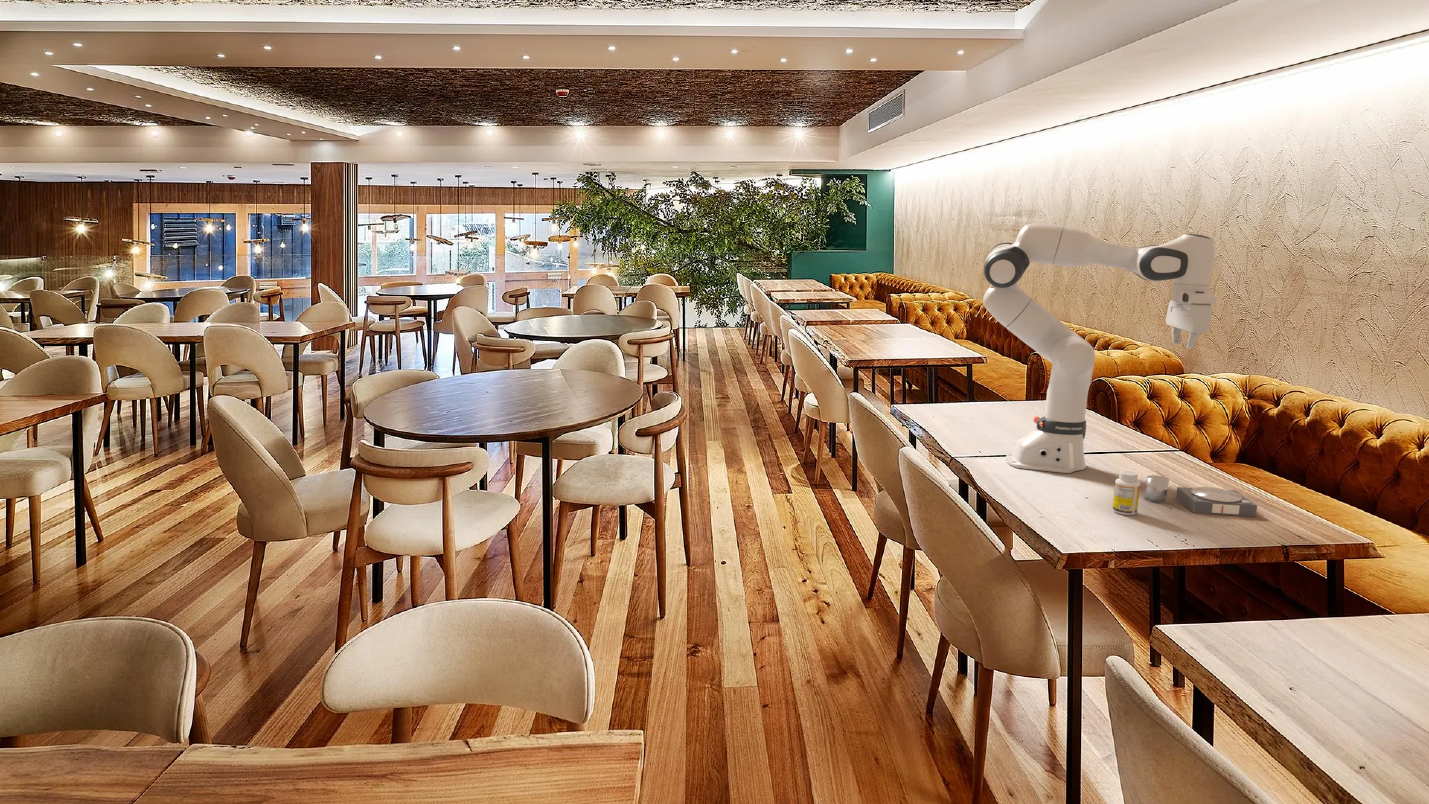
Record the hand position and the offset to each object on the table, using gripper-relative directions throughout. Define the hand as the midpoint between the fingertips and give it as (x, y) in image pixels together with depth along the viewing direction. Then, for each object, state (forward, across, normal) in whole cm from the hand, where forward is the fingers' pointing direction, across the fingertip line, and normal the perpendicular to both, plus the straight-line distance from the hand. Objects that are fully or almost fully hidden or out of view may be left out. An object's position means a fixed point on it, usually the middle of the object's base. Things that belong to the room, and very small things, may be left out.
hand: (1183, 345), depth 222 cm
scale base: (+38, +23, +4) cm, 45 cm away
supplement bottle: (+39, +32, -20) cm, 54 cm away
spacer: (+38, +20, -9) cm, 44 cm away
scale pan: (+35, +23, +4) cm, 42 cm away
